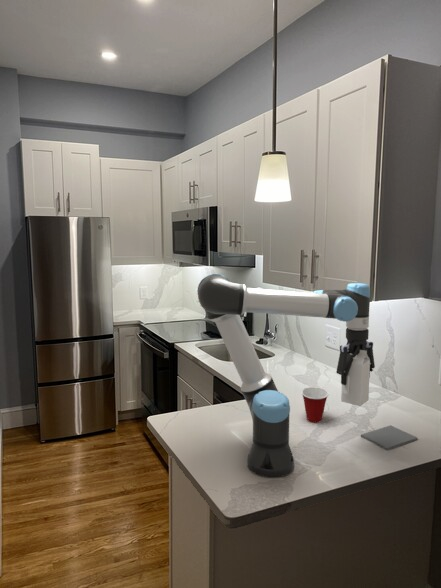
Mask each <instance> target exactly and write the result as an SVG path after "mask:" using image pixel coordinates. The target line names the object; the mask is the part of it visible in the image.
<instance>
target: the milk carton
mask: <svg viewBox="0 0 441 588" xmlns="http://www.w3.org/2000/svg"><path fill="white" fill-rule="evenodd" d="M350 354H351V353H350ZM351 355H353V354H351ZM365 358H366V359H365ZM370 364H371V363H370V359H369V357H368V355H367V351H365V350H360V353H359V354H358V355H356V356H355V357H354V358H353V362H352V365H351V368H350V370H349V373H348V376H350V379H349V394H348V395H347V394H345V393H343V392H342V391H341V393H340V394H341V397H340V398H341V402H342V403H346V404H349V405H354V406H358V407H361V406H363V405H364V404H365V403H367V402H368V401H369V396H370V395H369V393H370V378H369V374H370V375H371V371H370ZM344 372H345V371H344Z"/></svg>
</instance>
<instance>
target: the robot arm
mask: <svg viewBox="0 0 441 588" xmlns="http://www.w3.org/2000/svg"><path fill="white" fill-rule="evenodd" d="M196 292H197V298H198V302H199V304H200V306H201V308H202V309H203V310H204V312H205V314H206V316H207V319H208V320H209V321H212V322H214V323H215V325H216V327H217V330H218V332H219V335H220V336H221V339H222V340H223V342H224V345H225V347H226V349H227V351H228V354H229V355H230V358H231V361H232V363H233V364H234V367H235V369H236V372H237V374H238V376H239V378H240V380H241V382H242V384H241V386H240V391H241V394H242V396H243V397H244V400H245V401H246V404H247V406H248V409H249V412H250V415H251V418H252V443H251V446H250V450H249V453H248V455H247V457H246V460H247V463H246V465H247V466H246V467H247V469H249V471H250V472H252V473H253V474H255V475H257V476H259V477H265V478H270V479H271V478H282V477H286V476H288V475H289V474H291V473H292V472H293V471H294V468H295V459H294V456H293V452H292V450H291V447H290V412H291V405H290V399H289V398H288V396H287V395H286V394H285V393H283V392H280V391H279V389H278V387H277V386H276V384H275V382H274V379H273V377H272V375H271V374H269V373H266V372H265V369H264V367H263V364H262V362H261V360H260V359H259V356H258V354H257V351H256V349H255V347H254V345H253V343H252V340H251V338H250V335H249V333H248V331H247V329H246V326H245V324H244V322H243V320H242V317H241V316H242V315H244V314H245V313H254V314H255V313H256V314H270V315H281V316H295V317H297V316H298V317H309V318H310V317H311V318H325V319H333V320H335V319H336V320H338V321H340V322H344V323H345V327H346V329H345V339H346V344H345V345H339V357H338V361H337V366H336V374H338V375H340V384H341V393H342V392H343V393H345V394H347V395H348V394H349V379H350V376H348V373H349V370H350V368H351V365H352V362H353V358H354V357H355V356H356V355H358V354H359V353H360V350H365V351H367V355H368V357H369V359H370V374H369V379H370V378H371V373H372V372H373V371H374V370H373V369H375V367H376V365H375V357H374V350H373V348H374V342H373V341H369V336H370V335H369V333H370V332H369V331H370V330H369V327H370V324H369V323H370V321H369V320H370V306H371V305H370V302H371V288H370V285H369V284H366V283H363V282H352V283H351V282H350V283H348V284H347V286H346V289H328V290H327V289H321V290H320V289H319V290H314V291H313V292H307V291H305V292H304V291H291V290H280V289H266V288H253V287H247V285H246V284H244V283H236V282H231V281H230V280H229V279H228V278H227V277H226V276H225V275H223V274H219V273H211V274H209V275H206V276H204V277H203V278H202V279H201V280H200V282H199V283H198V286H197V291H196ZM350 353H351V354H353V355H351V354H350ZM365 359H366V358H365ZM344 371H345V372H344Z"/></svg>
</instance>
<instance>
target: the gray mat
mask: <svg viewBox="0 0 441 588" xmlns="http://www.w3.org/2000/svg"><path fill="white" fill-rule="evenodd" d="M360 437H361V438H363V439H365V440H367V441H369V442H371V443H373V444H374V445H375V446H378V447H380V448H382V449H384V450H386V451H389V450H392V449H395V448H398V447H400V446H403V445H407V444H409V443H411V442H415V441H417V440H418V438H419V437H417V436H415V435H413V434H410V433H408V432H406V431H404V430H402V429H400V428H398V427H395V426H393V425H391V424H390V425H388V426H384V427H381V428H378V429H375V430H371V431H368V432H365V433H362V434H360Z"/></svg>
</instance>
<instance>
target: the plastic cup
mask: <svg viewBox="0 0 441 588" xmlns="http://www.w3.org/2000/svg"><path fill="white" fill-rule="evenodd" d="M300 392H301V395H302V399H303V404H304V411H305V416H306V420H307V421H308V422H310V423H313V424H314V423H315V424H316V423H320V422H322V420H323V415H324V413H325V412H324V410H325V406H326V402H327V398H328V396H329V395H330V393H329V391H328V390H327V389H325V388H322V387H319V386H307V387H304V388H303V389H302V390H301V391H300Z"/></svg>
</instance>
